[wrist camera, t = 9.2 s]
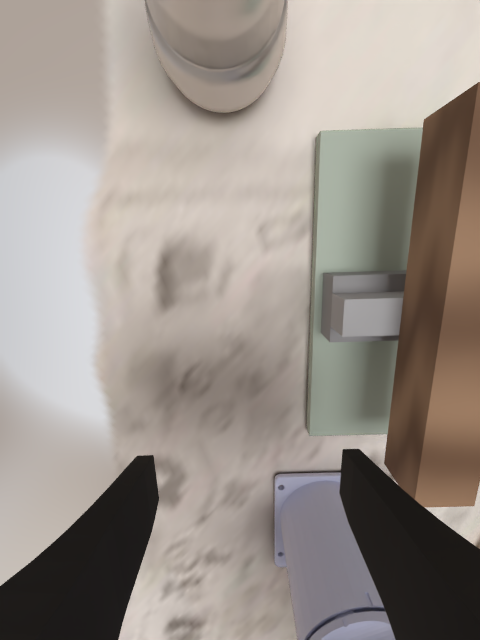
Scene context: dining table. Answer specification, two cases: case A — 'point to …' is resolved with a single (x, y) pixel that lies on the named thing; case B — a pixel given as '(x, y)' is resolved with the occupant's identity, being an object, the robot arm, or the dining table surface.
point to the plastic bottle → (219, 47)
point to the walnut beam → (441, 318)
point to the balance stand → (358, 275)
